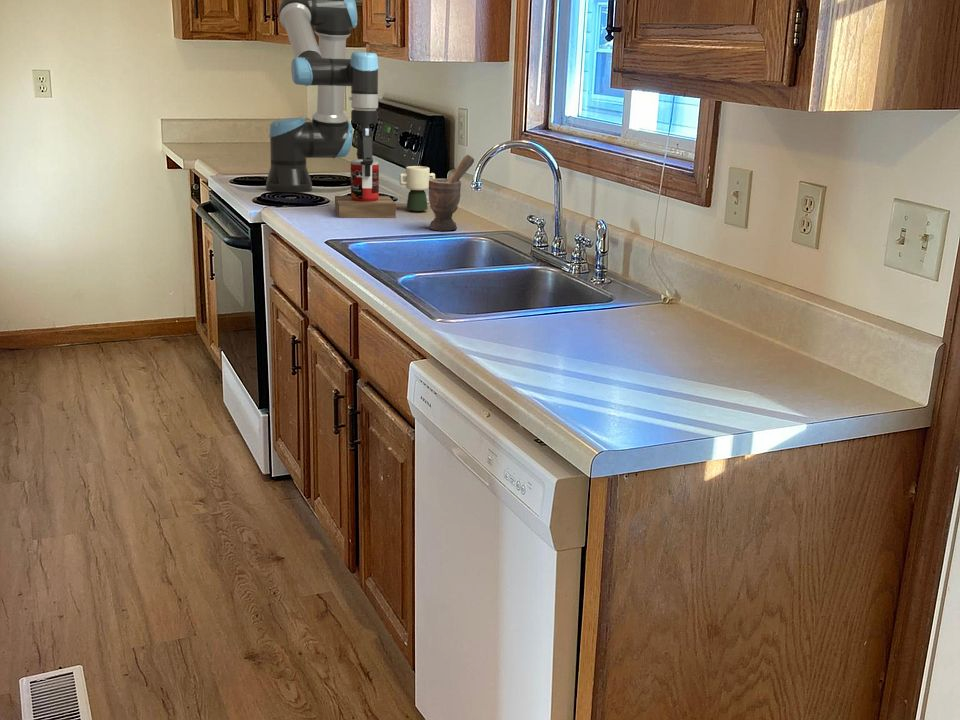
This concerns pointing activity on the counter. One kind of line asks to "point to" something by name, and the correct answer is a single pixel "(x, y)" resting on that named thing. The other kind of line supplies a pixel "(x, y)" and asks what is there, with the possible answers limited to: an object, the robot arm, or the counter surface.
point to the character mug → (417, 186)
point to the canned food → (356, 183)
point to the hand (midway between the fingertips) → (364, 185)
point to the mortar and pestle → (447, 197)
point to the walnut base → (365, 208)
